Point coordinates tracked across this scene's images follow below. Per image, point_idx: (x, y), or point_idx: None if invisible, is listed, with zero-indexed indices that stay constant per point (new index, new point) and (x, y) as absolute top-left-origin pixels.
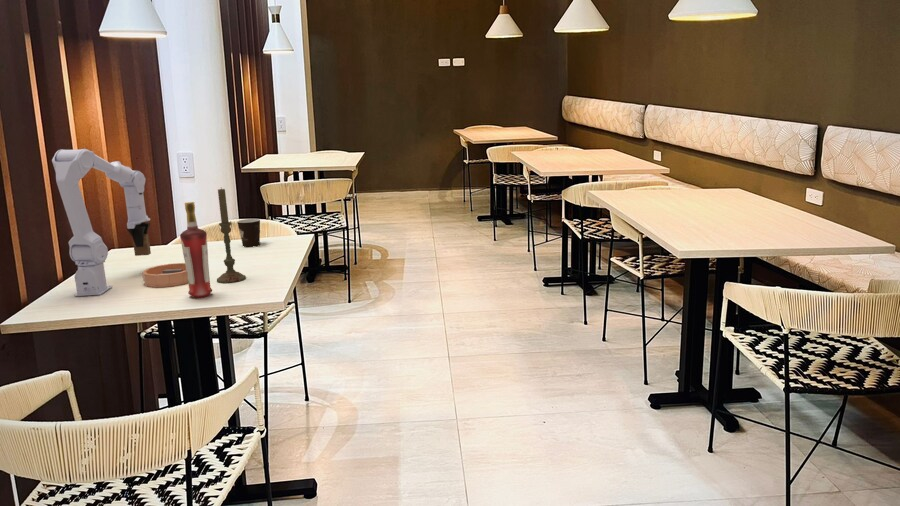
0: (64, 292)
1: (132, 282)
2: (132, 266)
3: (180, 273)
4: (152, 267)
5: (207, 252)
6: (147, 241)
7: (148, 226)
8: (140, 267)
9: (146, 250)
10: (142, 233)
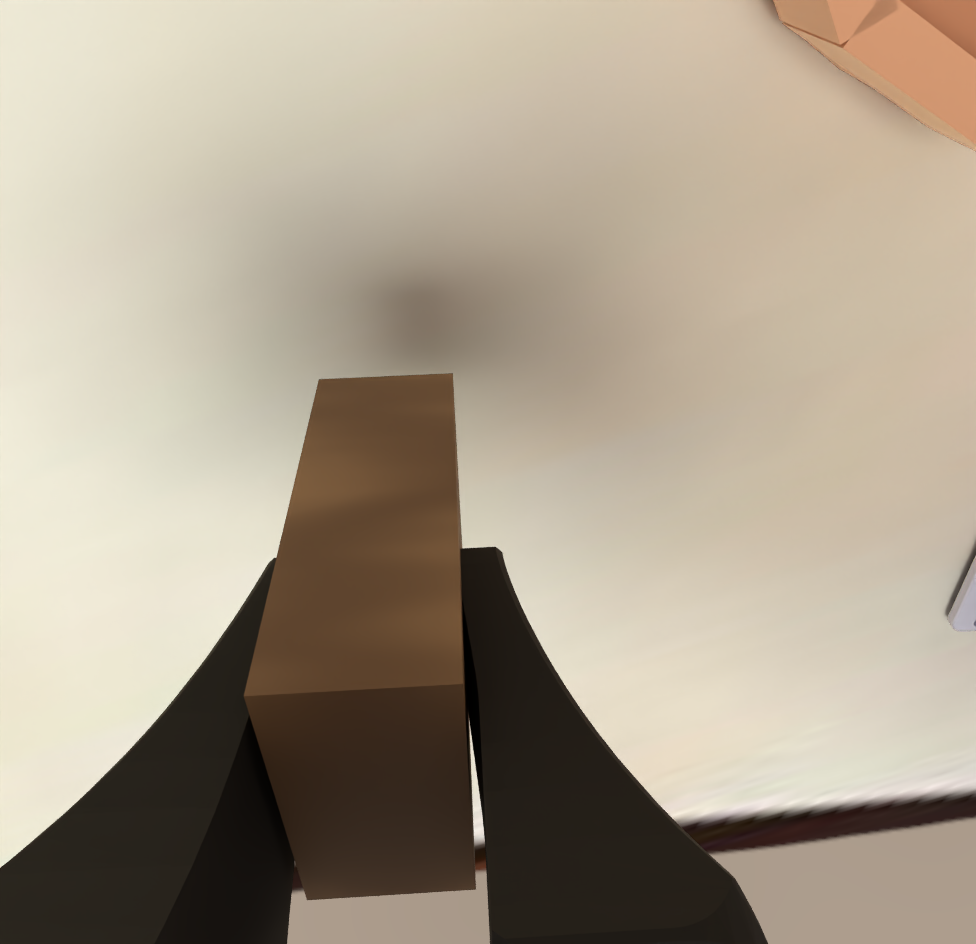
0: (970, 714)
1: (896, 303)
2: (68, 585)
3: None
4: (954, 89)
5: None
6: (410, 541)
7: (73, 912)
8: (110, 491)
9: (455, 446)
10: (606, 766)
